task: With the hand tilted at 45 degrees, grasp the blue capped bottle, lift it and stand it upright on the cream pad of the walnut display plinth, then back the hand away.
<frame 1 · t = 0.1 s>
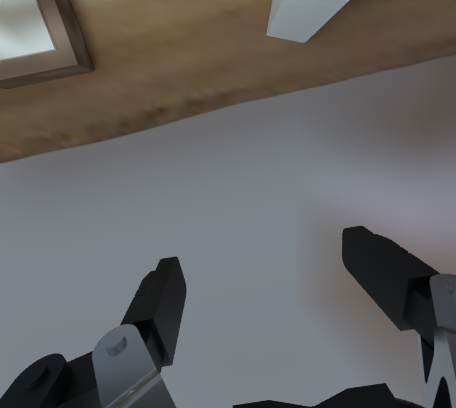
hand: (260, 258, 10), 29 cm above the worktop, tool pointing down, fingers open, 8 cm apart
milk: (289, 15, 31), on the worktop
plinth: (26, 24, 30), on the worktop
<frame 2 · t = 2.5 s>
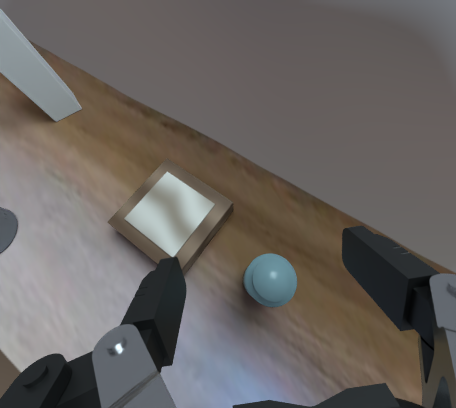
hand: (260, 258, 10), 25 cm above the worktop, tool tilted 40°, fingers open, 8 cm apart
milk: (65, 107, 47), on the worktop
plinth: (177, 219, 37), on the worktop
blue capped bottle: (259, 280, 33), on the worktop
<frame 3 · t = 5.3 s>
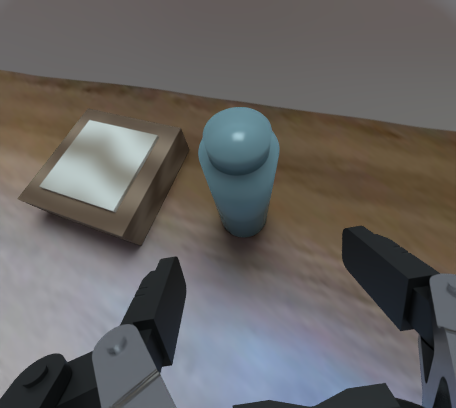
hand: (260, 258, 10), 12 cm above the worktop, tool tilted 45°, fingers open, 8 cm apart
plinth: (121, 179, 28), on the worktop
blue capped bottle: (243, 215, 25), on the worktop
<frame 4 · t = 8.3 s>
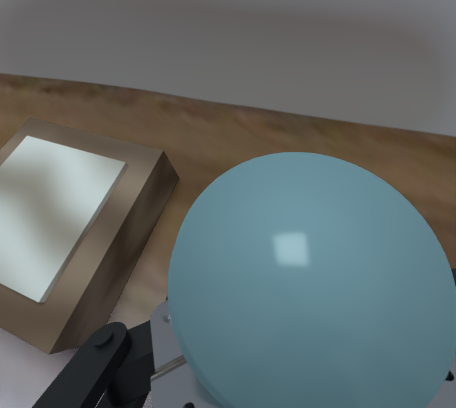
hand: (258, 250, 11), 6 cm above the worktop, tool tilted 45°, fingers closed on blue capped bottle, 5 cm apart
plinth: (77, 223, 19), on the worktop
blue capped bottle: (261, 291, 15), on the worktop, touching gripper
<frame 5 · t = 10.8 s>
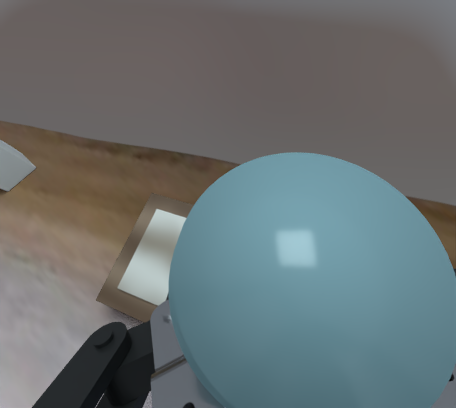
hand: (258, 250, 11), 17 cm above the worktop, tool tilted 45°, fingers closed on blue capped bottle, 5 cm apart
milk: (16, 172, 39), on the worktop
plinth: (186, 264, 29), on the worktop
blue capped bottle: (261, 291, 15), point 12 cm above the worktop, touching gripper
when the fingers open (11 cm above the worktop, at t = 13.8 s): blue capped bottle stays where it is, resting on plinth.
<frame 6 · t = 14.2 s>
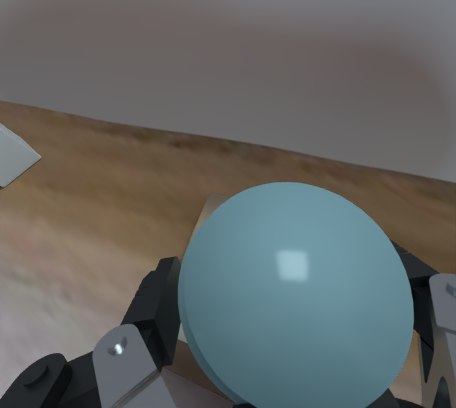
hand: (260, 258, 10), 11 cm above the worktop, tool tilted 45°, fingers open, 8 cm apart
milk: (15, 163, 30), on the worktop
plinth: (258, 293, 20), on the worktop
blue capped bottle: (261, 294, 16), point 4 cm above the worktop, touching plinth
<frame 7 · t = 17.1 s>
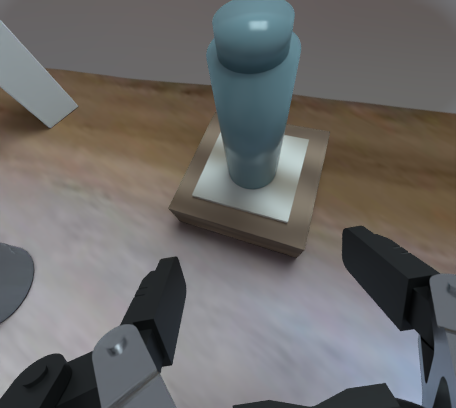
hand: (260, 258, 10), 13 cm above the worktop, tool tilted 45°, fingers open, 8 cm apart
milk: (57, 111, 38), on the worktop
plinth: (252, 186, 27), on the worktop
blue capped bottle: (252, 167, 23), point 4 cm above the worktop, touching plinth
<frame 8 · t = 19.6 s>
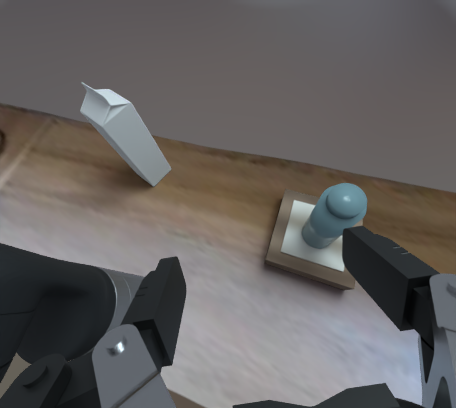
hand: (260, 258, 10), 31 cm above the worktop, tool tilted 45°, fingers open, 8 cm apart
milk: (154, 172, 51), on the worktop
plinth: (310, 239, 41), on the worktop
blue capped bottle: (317, 233, 37), point 4 cm above the worktop, touching plinth
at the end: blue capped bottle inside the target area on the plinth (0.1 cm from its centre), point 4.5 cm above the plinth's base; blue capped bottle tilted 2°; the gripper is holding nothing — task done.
